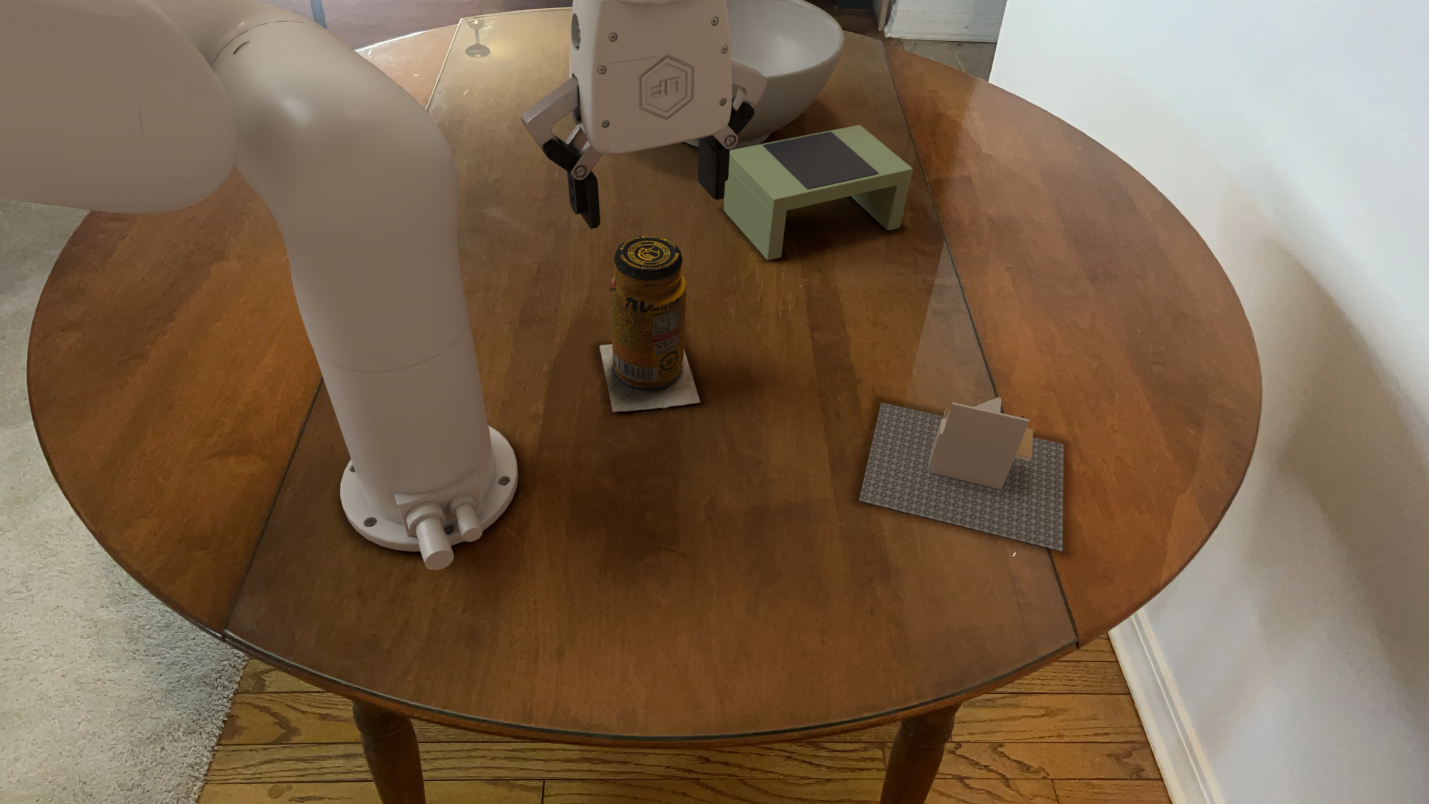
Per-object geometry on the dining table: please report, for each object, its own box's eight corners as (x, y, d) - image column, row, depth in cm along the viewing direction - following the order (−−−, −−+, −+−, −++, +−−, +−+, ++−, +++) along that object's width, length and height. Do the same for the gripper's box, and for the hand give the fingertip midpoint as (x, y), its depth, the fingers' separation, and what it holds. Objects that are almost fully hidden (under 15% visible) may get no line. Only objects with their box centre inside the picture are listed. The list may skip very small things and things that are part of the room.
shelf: (900, 227, 95) (913, 167, 91) (767, 260, 90) (774, 198, 85) (850, 182, 102) (860, 123, 97) (723, 210, 96) (727, 149, 91)
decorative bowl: (630, 193, 98) (628, 85, 89) (595, 84, 116) (590, -13, 108) (861, 173, 103) (880, 71, 95) (792, 73, 122) (803, -21, 113)
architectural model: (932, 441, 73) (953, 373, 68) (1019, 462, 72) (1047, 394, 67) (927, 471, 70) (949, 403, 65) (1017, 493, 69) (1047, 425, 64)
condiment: (680, 339, 81) (683, 224, 72) (700, 404, 75) (706, 287, 66) (599, 347, 79) (592, 231, 71) (612, 414, 73) (607, 297, 65)
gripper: (525, -3, 48) (553, 259, 60) (804, -41, 54) (779, 205, 66) (487, -49, 53) (520, 203, 65) (747, -79, 59) (733, 157, 71)
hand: (650, 204), depth 66 cm, fingers open, 9 cm apart
